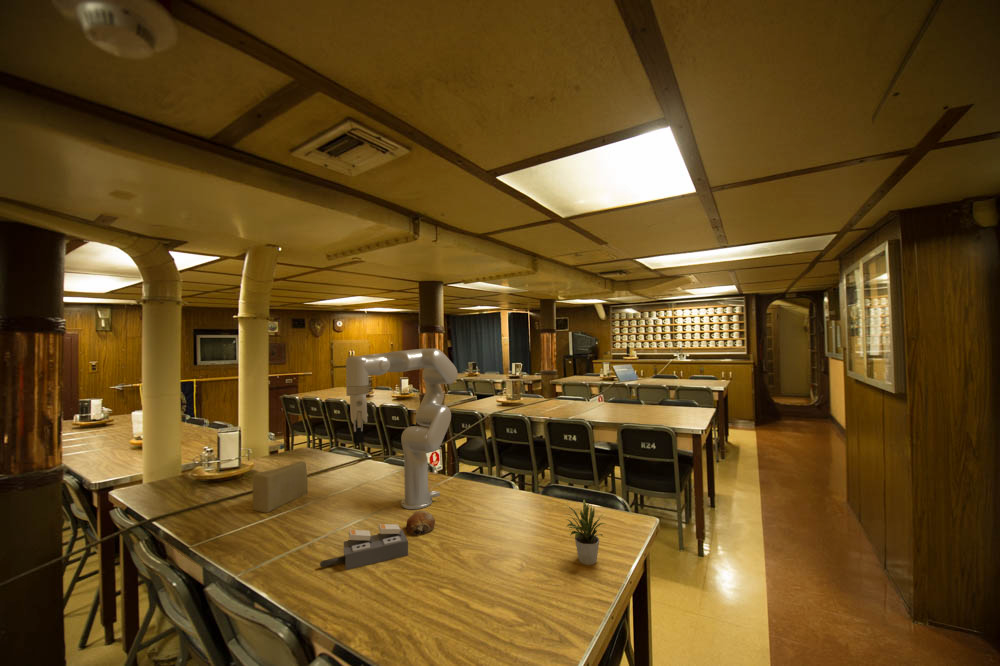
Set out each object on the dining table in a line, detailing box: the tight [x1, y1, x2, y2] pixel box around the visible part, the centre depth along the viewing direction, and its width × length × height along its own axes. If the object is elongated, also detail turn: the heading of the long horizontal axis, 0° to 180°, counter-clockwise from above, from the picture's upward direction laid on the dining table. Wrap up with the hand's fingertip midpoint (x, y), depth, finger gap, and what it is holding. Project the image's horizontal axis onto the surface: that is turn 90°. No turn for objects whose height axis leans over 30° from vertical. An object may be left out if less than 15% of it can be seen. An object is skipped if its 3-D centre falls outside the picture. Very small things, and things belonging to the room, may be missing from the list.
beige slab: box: [252, 460, 309, 514], centre depth 172 cm, size 22×10×15 cm, turn 155°
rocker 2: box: [378, 523, 401, 534], centre depth 128 cm, size 6×4×2 cm, turn 114°
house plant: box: [562, 499, 606, 566], centre depth 119 cm, size 14×14×16 cm
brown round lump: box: [405, 510, 436, 536], centre depth 142 cm, size 10×10×8 cm
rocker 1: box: [348, 529, 372, 541], centre depth 124 cm, size 6×4×2 cm, turn 114°
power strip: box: [319, 528, 409, 571], centre depth 122 cm, size 25×9×5 cm, turn 115°
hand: (358, 442), depth 142 cm, fingers closed
